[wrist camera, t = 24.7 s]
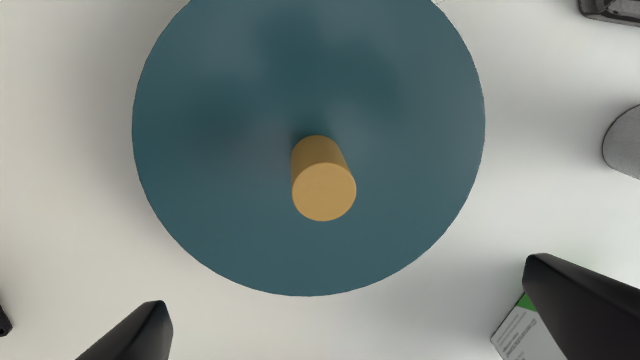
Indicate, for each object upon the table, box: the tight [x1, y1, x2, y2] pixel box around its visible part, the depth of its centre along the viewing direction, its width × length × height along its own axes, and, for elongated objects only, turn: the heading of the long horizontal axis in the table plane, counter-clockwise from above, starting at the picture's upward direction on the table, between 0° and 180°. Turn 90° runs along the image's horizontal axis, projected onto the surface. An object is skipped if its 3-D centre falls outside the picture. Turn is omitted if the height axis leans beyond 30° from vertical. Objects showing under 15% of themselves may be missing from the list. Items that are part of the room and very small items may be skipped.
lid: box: [132, 0, 485, 297], centre depth 16 cm, size 18×18×5 cm
